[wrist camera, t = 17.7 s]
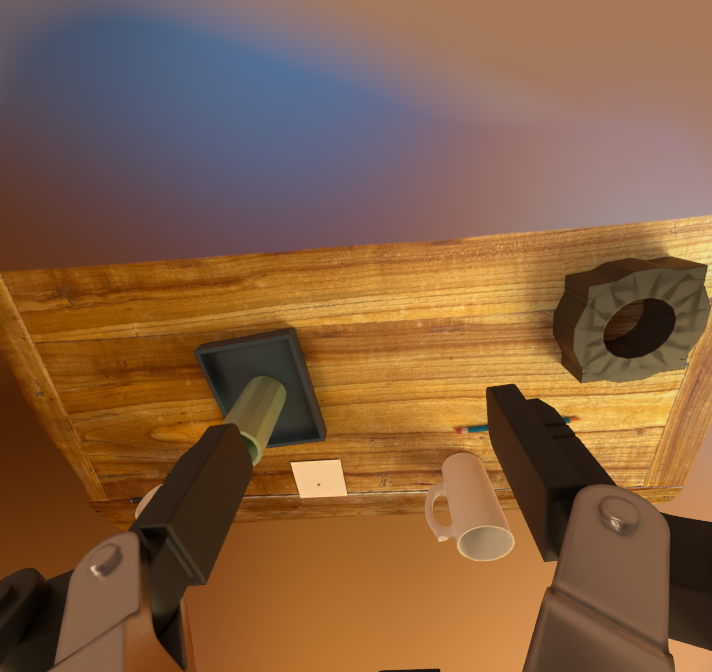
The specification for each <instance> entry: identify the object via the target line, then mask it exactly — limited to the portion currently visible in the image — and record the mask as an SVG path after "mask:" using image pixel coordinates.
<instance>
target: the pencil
mask: <svg viewBox="0 0 712 672" xmlns="http://www.w3.org/2000/svg"><path fill="white" fill-rule="evenodd" d="M563 419H564V421H565V422H566V423H571V422H575V421H578V420H581V419H580V418H563ZM456 430H457V434H460V433H471V432H481V431H489V430H488V425H486V426H476V427H466V428H457V429H456Z"/></svg>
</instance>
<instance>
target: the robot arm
mask: <svg viewBox="0 0 712 672" xmlns="http://www.w3.org/2000/svg"><path fill="white" fill-rule="evenodd" d="M486 400H487V417H488V430H489V436H490V440H491V444H492V447H493V449H494V452H495V454H496V456H497V458H498V460H499V463H500V465H501V467H502V469H503V472H504V474H505V476H506V478H507V480H508V483H509V485H510V487H511V489H512V492H513V494H514V496H515V498H516V500H517V503H518V505H519V507H520V509H521V511H522V514H523V516H524V518H525V520H526V523H527V525H528V527H529V529H530V531H531V534H532V536H533V538H534V540H535V542H536V545H537V547H538V549H539V551H540V553H541V556H542V558H543V560H544V562H549V561H558V563H557V566H556V570H555V574H554V578H553V581H552V584H551V586H550V587H548V588H547V589H546V591H545V594H544V597H543V600H542V603H541V607H540V610H539V614H538V618H537V621H536V624H535V628H534V632H533V635H532V639H531V642H530V646H529V649H528V653H527V657H526V660H525V664H524V667H523V671H522V672H675V666H674V659H673V656H672V654H670V653H669V648H668V638H670V639H673V640H676V641H680V642H683V643H687V644H691V645H693V646H697V647H700V648H704V649H707V650H710V651H712V522H707V521H701V520H695V519H689V518H684V517H678V516H673V515H669V514H665V513H662V512H659V511H658V509H656V508H655V507H654V506H653V505H652V504H651V503H650V502H648V501H647V500H646V499H644V498H643V497H641V496H639V495H637V494H635V493H633V492H631V491H629V490H626V489H624V488H621V487H618V486H617V485H616V484H615V483H614V481H613V480H612V479H611V478H610V476H609V475H608V474H607V473H606V471H605V470H604V469H603V468H602V466H601V465H600V464H599V463H598V462H597V460H596V459H595V458H594V457H593V455H592V454H591V453H590V452H589V450H588V449H587V448H586V447H585V445H584V444H583V443H582V442H581V440H580V439H579V438H578V437H576V436H575V433H574V432H573V431H572V429H571V428H570V427H569V426H568V425H566V422H565V421H564V419H563V418H562V417H561V416H560V415H559V413H558V412H557V411H556V410H555V408H553V407H551V406H550V405H548V404H546V403H545V402H543V401H541V400H540V399H538V398H535V399H528V400H526V399H525V397H524V396H523V395H522V393H521V392H520V390H519V389H518V388H517V386H516V385H515V384H507V385H500V386H493V387H487V389H486ZM252 472H253V462H252V458H251V455H250V453H249V451H248V448H247V446H246V444H245V442H244V440H243V437H242V435H241V433H240V431H239V428H238V427H237V425H236V424H234V423H229V424H222V425H215V426H210V427H209V428H208V429H207V430H206V431H205V433H204V434H203V436H202V437H201V438H200V440H199V441H198V443H197V444H195V445H194V446H192V447H191V448H190V449H189V450H188V451H187V452H186V453H185V454H183V455H182V456H181V457H180V459H179V460H178V462H177V463H176V464H175V466H174V467H173V469H172V470H171V473H169V474H168V476H167V477H166V478H165V480H164V481H163V485H160V487H159V488H158V490H157V491H156V492H155V494H154V495H153V497H152V498H151V499H150V501H149V502H148V503H147V505H146V506H145V508H144V509H143V510H142V512H141V513H140V515H139V516H138V517H137V519H136V520H135V522H134V523H133V524H132V526H131V527H130V529H129V530H128V531H127V532H122V533H118V534H116V535H113V536H111V537H110V538H107V539H106V540H104V541H103V542H101V543H100V544H98V545H97V546H96V547H95V548H93V549H92V550H91V551H90V552H89V553H88V554H87V555H86V556H85V557H84V558H83V559H82V560H81V562H80V563H79V564H78V566H77V567H76V569H74V570H71V571H69V572H66V573H64V574H61V575H59V576H56V577H53V578H51V579H48V580H46V579H45V578H44V577H43V576H42V575H41V574H40V573H39V572H38V571H37V570H36V569H34V568H26V569H22V570H19V571H17V572H15V573H12V574H10V575H9V576H7V577H5V578H3V579H2V580H0V671H1V672H196V665H195V659H194V652H193V646H192V639H191V632H190V626H189V619H188V612H187V605H186V602H185V600H184V599H183V595H184V592H185V590H186V588H187V586H196V585H206V583H207V581H208V578H209V576H210V574H211V571H212V569H213V567H214V564H215V562H216V559H217V557H218V555H219V552H220V550H221V548H222V545H223V543H224V541H225V538H226V536H227V534H228V531H229V529H230V527H231V524H232V522H233V519H234V517H235V515H236V512H237V510H238V508H239V505H240V503H241V501H242V498H243V496H244V493H245V491H246V489H247V486H248V484H249V482H250V479H251V477H252ZM379 672H440V669H414V670H386V671H385V670H383V671H379Z"/></svg>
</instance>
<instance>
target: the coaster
mask: <svg viewBox="0 0 712 672" xmlns="http://www.w3.org/2000/svg"><path fill="white" fill-rule="evenodd" d="M291 466H292V470H293V473H294V477H295V480H296V484H297V487H298V490H299V494H300V497H301V498H309V497H329V496H347V491H346V486H345V481H344V476H343V471H342V467H341V462H340V460H325V461H308V462H292V463H291Z"/></svg>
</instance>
